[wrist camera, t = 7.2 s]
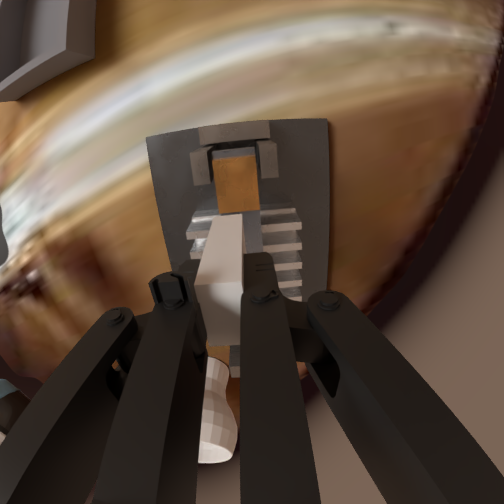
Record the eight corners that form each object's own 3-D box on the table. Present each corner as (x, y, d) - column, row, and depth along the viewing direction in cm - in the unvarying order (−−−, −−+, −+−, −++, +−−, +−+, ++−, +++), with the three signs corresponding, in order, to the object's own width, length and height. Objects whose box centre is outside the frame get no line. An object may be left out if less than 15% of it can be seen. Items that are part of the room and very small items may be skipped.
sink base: (321, 321, 36) (337, 371, 28) (192, 331, 37) (182, 383, 29) (323, 118, 25) (358, 118, 16) (149, 136, 25) (109, 145, 17)
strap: (270, 353, 31) (271, 366, 29) (244, 355, 31) (245, 368, 29) (253, 145, 19) (254, 149, 18) (214, 150, 19) (211, 153, 18)
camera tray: (17, 100, 21) (-15, 104, 15) (28, -11, 11) (3, -19, 6) (97, 58, 21) (65, 49, 15) (106, -56, 11) (86, -74, 5)
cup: (236, 349, 38) (234, 440, 25) (239, 389, 43) (239, 465, 30) (167, 347, 38) (145, 432, 25) (180, 387, 43) (167, 460, 30)
